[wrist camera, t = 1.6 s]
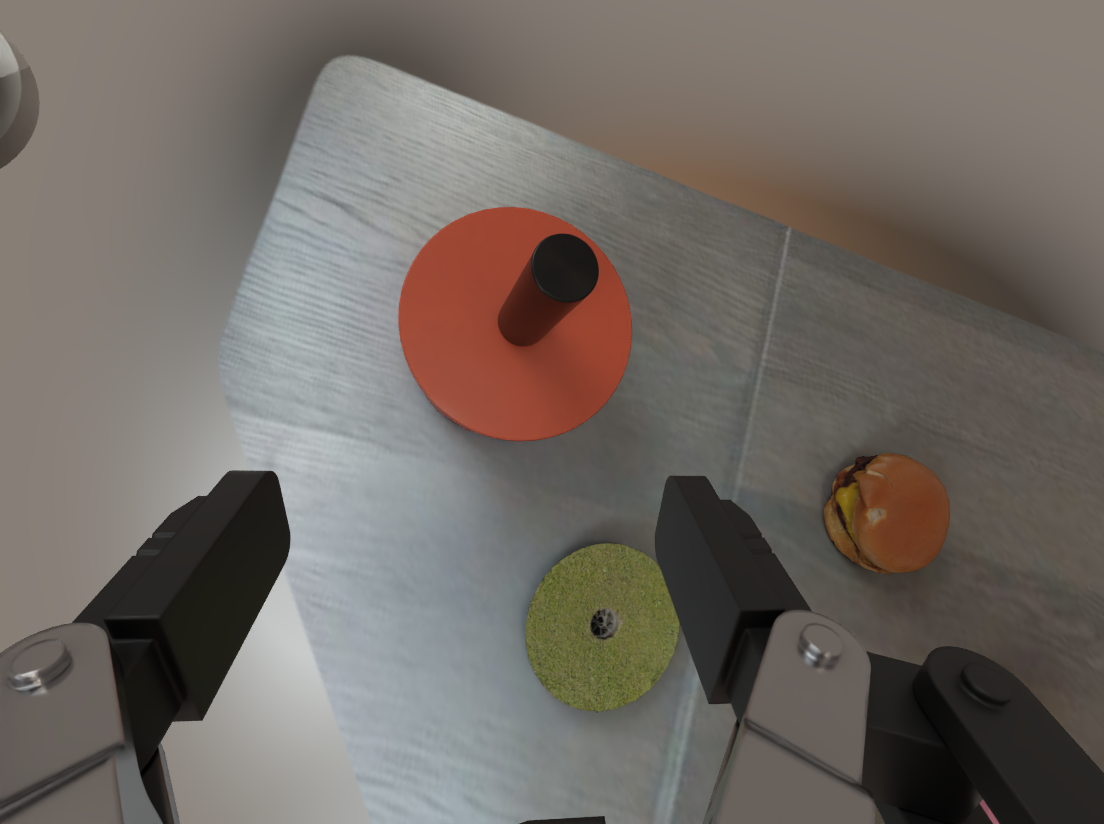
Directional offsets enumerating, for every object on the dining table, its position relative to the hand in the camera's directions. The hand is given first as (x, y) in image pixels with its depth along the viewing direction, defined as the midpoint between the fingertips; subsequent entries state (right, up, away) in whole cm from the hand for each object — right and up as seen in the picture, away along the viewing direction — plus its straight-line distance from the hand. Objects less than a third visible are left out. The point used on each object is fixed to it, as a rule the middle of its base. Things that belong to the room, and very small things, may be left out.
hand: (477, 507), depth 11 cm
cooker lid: (0, +7, +19) cm, 20 cm away
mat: (+5, -13, +26) cm, 30 cm away
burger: (+28, -6, +33) cm, 44 cm away
